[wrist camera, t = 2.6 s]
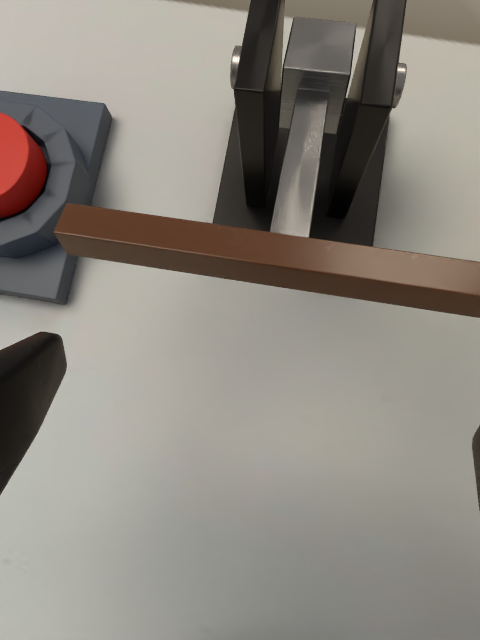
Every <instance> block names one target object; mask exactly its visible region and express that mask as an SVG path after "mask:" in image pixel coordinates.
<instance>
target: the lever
mask: <svg viewBox="0 0 480 640" xmlns="http://www.w3.org/2000/svg"><path fill="white" fill-rule="evenodd" d="M355 33H356V23H351V22H342V21H332V20H322V19H311V18H302V17H294V18H293V23H292V27H291V32H290V36H289V41H288V45H287V50H286V55H285V59H284V64H283V69H282V82H281V94H280V107H279V119H278V127H279V128H287V129H289V134H288V139H287V145H286V150H285V155H284V160H283V166H282V171H281V176H280V181H279V187H278V192H277V197H276V202H275V207H274V213H273V218H272V223H271V228H270V232H267V231H260V230H253V229H246V228H239V227H232V226H225V225H218V224H211V223H204V222H197V221H190V220H183V219H176V218H169V217H162V216H155V215H148V214H141V213H134V212H127V211H120V210H114V209H107V208H100V207H93V206H86V205H79V204H72V203H66V205H65V207H64V210H63V212H62V214H61V216H60V219H59V221H58V223H57V225H56V227H55V230H54V234H55V236H56V238H57V239H58V241H59V242H60V244H61V246H62V247H63V249H64V250H65V252H66V254H69V255H75V256H82V257H88V258H95V259H101V260H107V261H114V262H120V263H127V264H133V265H140V266H146V267H153V268H159V269H166V270H172V271H179V272H185V273H192V274H198V275H205V276H211V277H218V278H224V279H231V280H237V281H244V282H250V283H257V284H263V285H270V286H276V287H283V288H289V289H296V290H302V291H309V292H315V293H322V294H328V295H335V296H341V297H347V298H354V299H360V300H367V301H373V302H380V303H386V304H393V305H399V306H406V307H412V308H419V309H425V310H432V311H438V312H445V313H451V314H458V315H464V316H471V317H477V318H480V262H476V261H469V260H462V259H455V258H448V257H441V256H434V255H427V254H420V253H413V252H406V251H399V250H392V249H385V248H378V247H371V246H364V245H357V244H350V243H343V242H336V241H329V240H322V239H315V238H309V234H310V227H311V220H312V213H313V206H314V199H315V192H316V185H317V178H318V171H319V164H320V157H321V150H322V143H323V136H324V133H328V134H337V132H338V128H339V124H340V119H341V115H342V111H343V106H344V102H345V97H346V93H347V89H348V84H349V80H350V76H351V67H352V59H353V50H354V42H355Z"/></svg>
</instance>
